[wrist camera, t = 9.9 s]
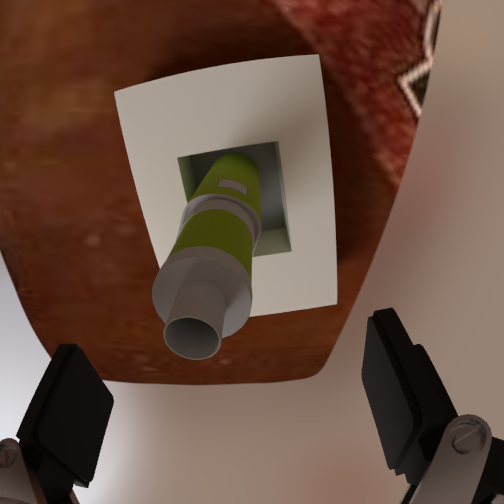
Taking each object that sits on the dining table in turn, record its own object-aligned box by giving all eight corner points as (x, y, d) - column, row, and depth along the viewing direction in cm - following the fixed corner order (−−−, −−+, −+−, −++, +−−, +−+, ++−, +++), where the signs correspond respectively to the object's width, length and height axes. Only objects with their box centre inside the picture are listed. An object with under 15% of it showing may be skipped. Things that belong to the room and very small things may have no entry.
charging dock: (137, 90, 24) (114, 91, 19) (304, 61, 23) (318, 54, 18) (187, 290, 33) (179, 324, 28) (324, 272, 32) (337, 303, 27)
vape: (264, 159, 26) (284, 301, 8) (241, 223, 28) (220, 427, 10) (220, 145, 25) (136, 256, 7) (200, 211, 28) (120, 399, 10)
